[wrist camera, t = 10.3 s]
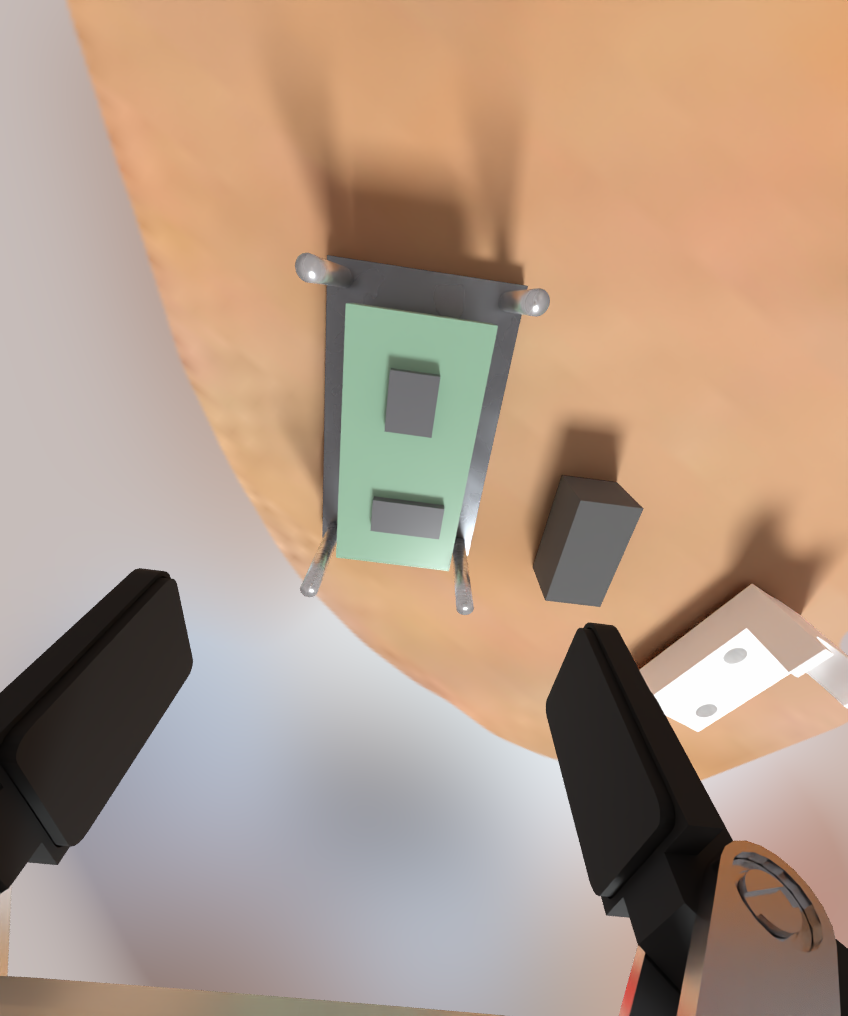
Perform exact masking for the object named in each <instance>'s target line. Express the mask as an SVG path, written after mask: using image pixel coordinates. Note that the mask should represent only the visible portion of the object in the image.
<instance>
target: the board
mask: <svg viewBox="0 0 848 1016" xmlns="http://www.w3.org/2000/svg"><path fill="white" fill-rule="evenodd" d="M497 329H498V326H497V325H495V324H492V323H485V322H478V321H472V320H465V319H458V318H452V317H445V316H438V315H432V314H425V313H418V312H411V311H405V310H398V309H391V308H385V307H378V306H371V305H365V304H358V303H346V309H345V336H344V362H343V389H342V415H341V442H340V468H339V495H338V521H337V548H336V557H337V558H345V559H354V560H362V561H370V562H378V563H387V564H395V565H403V566H412V567H420V568H428V569H436V570H445V571H449V568H450V563H451V558H452V553H453V548H454V543H455V538H456V533H457V528H458V523H459V518H460V513H461V508H462V503H463V498H464V493H465V488H466V483H467V478H468V473H469V468H470V463H471V458H472V453H473V448H474V443H475V438H476V433H477V428H478V423H479V418H480V413H481V408H482V403H483V398H484V393H485V388H486V384H487V379H488V374H489V369H490V364H491V359H492V354H493V349H494V344H495V339H496V334H497Z"/></svg>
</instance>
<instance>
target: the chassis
mask: <svg viewBox="0 0 848 1016" xmlns="http://www.w3.org/2000/svg"><path fill="white" fill-rule="evenodd" d="M295 268H296V272H297V274H298V276H299V277H300V278H301V279H302V280H303V281H305V282H309V283H316V284H323V285H327V303H326V362H325V421H324V480H323V539H322V542H321V544H320V546H319V548H318V550H317V552H316V555H315V557H314V559H313V561H312V563H311V566H310V568H309V570H308V572H307V574H306V576H305V579H304V581H303V583H302V585H301V587H300V591H301V593H302V594H303V595H304V596H307V597H313V596H315V595H316V594H317V592H318V589H319V587H320V584H321V582H322V579H323V577H324V574H325V572H326V569H327V567H328V564H329V561H330V559H331V556H332V554H333V551H334V549H335V546H336V544H337V521H338V495H339V468H340V442H341V415H342V389H343V362H344V336H345V309H346V303H358V304H365V305H371V306H378V307H385V308H391V309H398V310H405V311H411V312H418V313H425V314H432V315H438V316H445V317H452V318H458V319H465V320H472V321H478V322H485V323H492V324H495V325H497V326H498V329H497V334H496V339H495V344H494V349H493V354H492V359H491V364H490V369H489V374H488V379H487V384H486V388H485V393H484V398H483V403H482V408H481V413H480V418H479V423H478V428H477V433H476V438H475V443H474V448H473V453H472V458H471V463H470V468H469V473H468V478H467V483H466V488H465V493H464V498H463V503H462V508H461V513H460V518H459V523H458V528H457V533H456V538H455V543H454V548H453V553H452V556H453V569H454V582H455V595H456V607H457V611H458V613H460V614H462V615H468V614H470V613H471V612H472V611H473V609H474V607H473V600H472V592H471V585H470V577H469V570H468V562H467V555H468V553H469V549H470V544H471V540H472V535H473V531H474V526H475V522H476V517H477V513H478V508H479V504H480V499H481V495H482V490H483V486H484V481H485V477H486V472H487V468H488V463H489V459H490V454H491V450H492V445H493V441H494V436H495V432H496V427H497V423H498V418H499V414H500V409H501V405H502V400H503V396H504V391H505V387H506V382H507V378H508V373H509V369H510V364H511V360H512V355H513V351H514V346H515V342H516V337H517V333H518V328H519V324H520V319H521V315H522V314H523V315H529V316H540V315H542V314H543V313H545V312H546V310H547V309H548V307H549V303H550V298H549V295H548V293H547V292H546V291H545V290H543V289H529V290H527V288H528V286H525V285H518V284H512V283H505V282H499V281H492V280H486V279H479V278H473V277H466V276H460V275H453V274H447V273H440V272H433V271H427V270H420V269H414V268H407V267H401V266H394V265H388V264H381V263H375V262H368V261H362V260H355V259H349V258H342V257H336V256H329V255H327V260H326V259H323V258H321V257H318V256H315V255H313V254H310V253H303V254H301V255H299V256H298V258H297V260H296V263H295Z"/></svg>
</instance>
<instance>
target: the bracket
mask: <svg viewBox="0 0 848 1016" xmlns="http://www.w3.org/2000/svg"><path fill="white" fill-rule="evenodd" d="M639 671H640V672H641V674H642V676H643V678H644V680H645V682H646V684H647V686H648V687H649V689H650V691H651V692H652V693H653V695H654V696H655V698H656V699H657V701H658V703H659V705H660V706H661V708H662V710H663V712H664V714H665V715H666V716H668V717H670V718H672V719H674V720H676V721H678V722H680V723H682V724H684V725H685V726H687V727H689V728H691V729H693V730H695V731H697V732H699V731H701V730H702V729H704V728H705V727H707V726H708V725H710V724H712V723H713V722H715V721H716V720H718V719H720V718H721V717H723V716H724V715H726V714H727V713H729V712H731V711H732V710H734V709H735V708H737V707H738V706H740V705H742V704H743V703H745V702H746V701H748V700H749V699H751V698H753V697H754V696H756V695H757V694H759V693H761V692H762V691H764V690H765V689H767V688H768V687H770V686H772V685H773V684H775V683H776V682H778V681H779V680H781V679H783V678H784V677H786V676H787V675H789V674H790V673H791V674H792V675H794V676H796V677H797V678H798V677H799V676H801V675H803V674H804V673H807V674H808V675H809V676H811V677H812V678H813V679H814V680H816V681H817V682H818V683H819V684H820V685H821V686H822V687H824V688H825V689H826V690H827V691H828V692H829V693H830V694H831V695H832V696H834V697H835V698H836V699H837V700H838V701H839V702H840V703H841V704H842V705H843V706H844V707H846V708H847V709H848V655H846V654H845V653H844V652H843V651H842V650H841V649H839V648H838V647H837V646H836V645H835V644H834V643H832V642H831V641H830V640H829V639H828V638H827V637H825V636H824V635H823V634H822V633H821V632H820V631H818V630H817V629H816V628H815V627H814V626H813V625H812V624H810V623H809V622H808V621H807V620H806V619H805V618H803V617H802V616H801V615H800V614H798V613H797V612H795V611H794V610H792V609H791V608H789V607H788V606H786V605H785V604H783V603H782V602H781V601H779V600H778V599H776V598H775V597H771V596H770V595H768V594H767V593H765V592H764V591H763V590H761V589H760V588H758V587H757V586H755V585H754V584H751V585H749V586H748V587H747V588H745V589H744V590H743V591H741V592H740V593H739V594H737V595H736V596H735V597H734V598H732V599H731V600H730V601H728V602H727V603H726V604H724V605H723V606H722V607H721V608H719V609H718V610H717V611H715V612H714V613H713V614H711V615H710V616H709V617H707V618H706V619H705V620H704V621H702V622H701V623H700V624H698V625H697V626H696V627H694V628H693V629H692V630H691V631H689V632H688V633H687V634H685V635H684V636H683V637H681V638H680V639H679V640H677V641H676V642H675V643H674V644H672V645H671V646H670V647H668V648H667V649H666V650H664V651H663V652H662V653H660V654H659V655H658V656H657V657H655V658H654V659H653V660H651V661H650V662H649V663H647V664H646V665H645V666H644V667H642V668H641V669H640V670H639Z"/></svg>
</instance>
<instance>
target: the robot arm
mask: <svg viewBox="0 0 848 1016" xmlns="http://www.w3.org/2000/svg"><path fill="white" fill-rule="evenodd" d="M192 664H193V659H192V653H191V649H190V644H189V639H188V635H187V629H186V625H185V621H184V615H183V610H182V606H181V601H180V596H179V592H178V587H177V583H176V581H175V580H174V579H171V578H170V575H169V574H168V573H167V572H164V571H157V570H149V569H140V568H139V569H135V570H134V571H133V572H131V573H130V574H129V575H128V576H127V577H126V578H125V579H124V580H122V581H121V582H120V583H119V584H118V585H117V586H116V587H115V588H114V589H113V590H112V591H111V592H109V593H108V594H107V595H106V596H105V597H104V598H103V599H102V600H101V601H100V602H99V603H98V604H96V605H95V606H94V607H93V608H92V609H91V610H90V611H89V612H88V613H87V614H86V615H84V616H83V617H82V618H81V619H80V620H79V621H78V622H77V623H76V624H75V625H74V626H72V627H71V628H70V629H69V630H68V631H67V632H66V633H65V634H64V635H63V636H62V637H60V638H59V639H58V640H57V641H56V642H55V643H54V644H53V645H52V646H51V647H50V648H48V649H47V650H46V651H45V652H44V653H43V654H42V655H41V656H40V657H39V658H38V659H36V660H35V661H34V662H33V663H32V664H31V665H30V666H29V667H28V668H27V669H26V670H25V671H24V672H22V673H21V674H20V675H19V676H18V677H17V678H16V679H15V680H14V681H13V682H12V683H10V684H9V685H8V686H7V687H6V688H5V689H4V690H3V691H2V692H1V693H0V1016H503V1015H492V1014H479V1013H469V1012H456V1011H445V1010H434V1009H423V1008H410V1007H399V1006H386V1005H375V1004H362V1003H350V1002H337V1001H325V1000H314V999H301V998H288V997H276V996H264V995H251V994H239V993H226V992H213V991H202V990H189V989H175V988H162V987H149V986H136V985H123V984H110V983H96V982H82V981H70V980H57V979H44V978H30V977H12V976H7V973H8V953H9V933H10V913H11V892H12V883H13V882H14V880H15V879H16V877H17V876H18V875H19V873H20V872H21V871H22V869H23V868H24V866H25V865H26V864H27V862H30V863H42V864H52V865H58V864H59V862H60V861H61V859H62V858H63V856H64V854H65V853H66V852H67V850H68V849H69V847H70V846H75V845H76V844H78V843H79V842H80V841H81V840H82V839H83V838H84V836H85V835H86V834H87V832H88V831H89V829H90V828H91V826H92V824H93V823H94V821H95V820H96V818H97V817H98V815H99V814H100V812H101V811H102V809H103V807H104V806H105V804H106V803H107V801H108V800H109V798H110V797H111V795H112V794H113V792H114V791H115V789H116V787H117V786H118V784H119V783H120V781H121V779H122V778H123V777H124V775H125V773H126V772H127V770H128V769H129V767H130V766H131V764H132V763H133V761H134V759H135V758H136V756H137V755H138V753H139V752H140V750H141V749H142V747H143V746H144V744H145V743H146V741H147V739H148V738H149V736H150V735H151V733H152V732H153V730H154V728H155V727H156V725H157V724H158V722H159V721H160V719H161V718H162V716H163V715H164V713H165V712H166V710H167V708H168V707H169V705H170V704H171V702H172V701H173V699H174V698H175V696H176V694H177V693H178V691H179V690H180V688H181V687H182V685H183V684H184V682H185V681H186V679H187V677H188V676H189V674H190V672H191V669H192ZM546 714H547V719H548V723H549V727H550V731H551V734H552V738H553V742H554V746H555V750H556V754H557V758H558V761H559V765H560V769H561V773H562V777H563V780H564V785H565V788H566V792H567V796H568V800H569V804H570V808H571V811H572V815H573V819H574V823H575V827H576V831H577V835H578V838H579V842H580V846H581V850H582V854H583V858H584V862H585V865H586V869H587V873H588V877H589V881H590V884H591V886H592V888H593V891H594V892H595V894H596V895H598V896H601V898H602V902H603V905H604V909H605V913H606V915H608V916H619V917H629V918H630V920H631V924H632V927H633V930H634V933H635V936H636V940H637V943H638V946H637V950H636V954H635V957H634V961H633V965H632V968H631V972H630V976H629V979H628V983H627V987H626V990H625V994H624V997H623V1001H622V1005H621V1008H620V1012H619V1016H848V949H847V948H846V947H845V946H844V945H843V944H841V943H840V942H839V941H838V940H837V939H835V935H834V931H833V926H832V925H831V922H830V920H829V918H828V916H827V914H826V912H825V910H824V907H823V906H822V904H821V903H820V902H819V900H818V898H817V897H816V896H815V894H814V893H813V891H812V890H811V888H810V887H809V886H808V885H807V884H806V882H805V881H804V880H803V879H802V878H801V877H800V876H799V875H798V874H797V872H795V870H794V869H792V868H791V867H790V866H789V865H788V864H787V863H785V862H784V861H783V860H782V859H781V858H779V857H778V856H777V855H775V854H774V853H772V852H770V851H769V850H767V849H765V848H764V847H762V846H760V845H757V844H754V843H751V842H748V841H733V840H732V838H731V836H730V834H729V833H728V831H727V829H726V827H725V825H724V823H723V821H722V820H721V818H720V816H719V814H718V812H717V810H716V808H715V807H714V805H713V803H712V801H711V799H710V797H709V795H708V794H707V792H706V790H705V788H704V786H703V784H702V783H701V781H700V779H699V777H698V775H697V773H696V771H695V769H694V768H693V766H692V764H691V762H690V760H689V758H688V756H687V755H686V753H685V751H684V749H683V747H682V745H681V744H680V742H679V740H678V738H677V736H676V734H675V732H674V731H673V729H672V727H671V725H670V723H669V721H668V719H667V718H666V716H665V714H664V712H663V710H662V708H661V706H660V705H659V703H658V701H657V699H656V698H655V696H654V695H653V693H652V692H651V691H650V689H649V687H648V686H647V684H646V682H645V680H644V678H643V676H642V674H641V672H640V671H639V669H638V667H637V665H636V663H635V661H634V659H633V658H632V656H631V654H630V652H629V650H628V648H627V646H626V644H625V643H624V641H623V639H622V637H621V635H620V633H619V631H618V630H617V628H616V627H614V626H613V625H605V624H597V623H587V624H586V625H585V626H584V628H579V629H578V630H577V632H576V634H575V636H574V638H573V641H572V643H571V645H570V648H569V650H568V652H567V654H566V657H565V659H564V661H563V664H562V666H561V668H560V671H559V673H558V675H557V677H556V680H555V682H554V684H553V687H552V689H551V691H550V694H549V696H548V698H547V701H546Z"/></svg>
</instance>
